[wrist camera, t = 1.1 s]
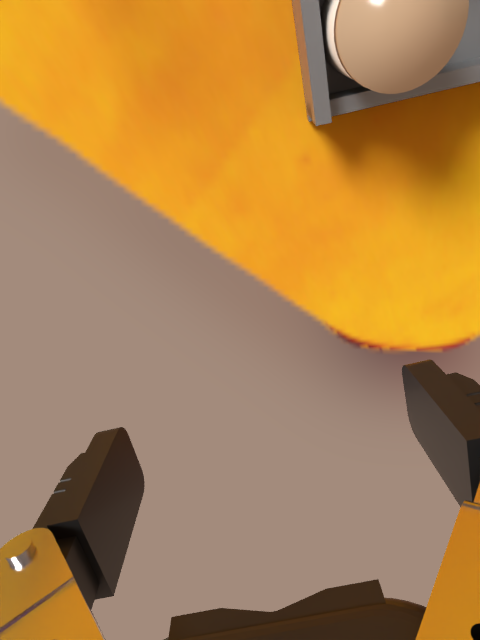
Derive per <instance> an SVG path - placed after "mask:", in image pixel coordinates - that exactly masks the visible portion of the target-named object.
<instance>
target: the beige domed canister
mask: <svg viewBox="0 0 480 640" xmlns="http://www.w3.org/2000/svg"><path fill="white" fill-rule="evenodd" d="M468 9H469V0H325V2H324V4H323V7H322V9H321V12H320V17H321V26H322V36H323V45H324V54H325V60H326V62H327V63H328V64H329V65H330V67H332V68H333V69H334V70H335V71H336V72H338V73H339V74H342V75H344V76H346V77H348V78H351V79H353V80H354V81H355V82H357V83H358V84H360V85H361V86H363V87H366V88H368V89H370V90H372V91H375V92H379V93H384V94H397V93H403V92H407V91H410V90H413V89H415V88H417V87H419V86H421V85H423V84H424V83H426V82H428V81H429V80H430V79H432V78H433V77H434V76H435V75H436V74H437V73H439V72H440V71H441V70H442V69H443V67H444V66H445V65H446V64H447V63H448V61H449V60H450V58H451V57H452V56H453V54H454V52H455V51H456V49H457V47H458V45H459V43H460V41H461V38H462V36H463V33H464V30H465V27H466V22H467V18H468Z"/></svg>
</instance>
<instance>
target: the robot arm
mask: <svg viewBox="0 0 480 640" xmlns="http://www.w3.org/2000/svg"><path fill="white" fill-rule="evenodd" d="M402 375H403V383H404V390H405V397H406V403H407V411H408V416H409V421H410V424H411V427H412V430H413V432H414V434H415V436H416V438H417V439H418V441H419V443H420V444H421V446H422V447H423V449H424V451H425V452H426V454H427V455H428V457H429V458H430V460H431V461H432V463H433V465H434V466H435V468H436V469H437V471H438V472H439V474H440V476H441V477H442V479H443V480H444V482H445V483H446V485H447V486H448V488H449V489H450V491H451V493H452V494H453V495H454V497H455V499H456V501H457V502H458V504H459V505H460V507H461V508H460V511H459V514H458V517H457V519H456V523H455V525H454V528H453V531H452V534H451V537H450V540H449V543H448V546H447V549H446V552H445V555H444V558H443V561H442V564H441V566H440V569H439V572H438V575H437V578H436V581H435V584H434V587H433V590H432V593H431V596H430V599H429V602H428V605H427V607H424V606H422V605H419V604H415V603H412V602H409V601H405V600H399V599H393V598H384V596H383V593H382V589H381V586H380V584H379V581H378V580H373V581H367V582H362V583H356V584H350V585H345V586H339V587H334V588H328V589H325V590H323V591H320V592H318V593H316V594H314V595H312V596H309V597H307V598H305V599H303V600H300V601H298V602H296V603H294V604H291V605H289V606H287V607H285V608H283V609H280V610H278V611H274V612H263V611H250V610H238V609H225V608H219V609H213V610H208V611H203V612H197V613H192V614H187V615H181V616H175V617H172V618H171V625H170V632H169V637H168V638H166V639H164V640H480V385H479V384H478V383H477V382H476V381H474V380H473V379H471V378H468V377H466V376H463V375H461V374H458V373H452V374H447V375H446V374H445V373H444V372H443V371H442V370H441V369H440V368H439V367H438V366H437V365H436V364H435V363H434V362H433V361H432V360H426V361H422V362H417V363H413V364H408V365H404V366H403V367H402ZM60 481H61V482H60V483H58V485H57V487H56V488H55V490H54V494H52V495H51V497H50V499H49V501H48V502H47V504H46V506H45V508H44V510H43V511H42V513H41V515H40V517H39V518H38V520H37V522H36V524H35V525H34V527H33V529H31V530H28V531H26V532H23V533H21V534H19V535H17V536H16V537H14V538H13V539H11V540H10V541H8V542H7V543H6V544H5V545H4V546H3V547H2V548H0V640H105V638H104V636H103V634H102V632H101V630H100V628H99V626H98V624H97V622H96V620H95V617H94V616H93V614H92V611H91V609H92V605H93V602H94V600H95V599H100V598H105V597H111V596H114V593H115V589H116V586H117V582H118V579H119V576H120V572H121V569H122V565H123V562H124V558H125V554H126V552H127V548H128V545H129V541H130V538H131V534H132V531H133V527H134V524H135V521H136V517H137V514H138V510H139V507H140V503H141V500H142V497H143V493H144V476H143V472H142V469H141V466H140V464H139V461H138V459H137V456H136V454H135V451H134V448H133V446H132V443H131V441H130V438H129V436H128V433H127V431H126V430H125V429H124V428H123V427H120V428H116V429H111V430H107V431H102V432H98V433H96V434H95V435H94V437H93V439H92V441H91V443H90V445H89V447H88V449H87V450H86V452H85V453H82V454H80V455H79V456H78V457H77V458H76V459H75V460H74V461H73V462H72V463H71V464H70V465H69V466H68V467H67V469H66V471H65V472H64V474H63V476H62V478H61V480H60Z"/></svg>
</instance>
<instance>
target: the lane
mask: <svg viewBox="0 0 480 640" xmlns="http://www.w3.org/2000/svg"><path fill="white" fill-rule="evenodd" d="M324 2H325V0H292V6H293V13H294V21H295V28H296V36H297V43H298V50H299V58H300V65H301V73H302V80H303V88H304V95H305V103H306V110H307V118H308V121H309V122H310V121H313V122H314V124H315V125H316V126H319V125H323V124H327V123H332V119H331V117H332V116H336V115H340V114H345V113H349V112H353V111H357V110H362V109H366V108H370V107H374V106H379V105H383V104H387V103H391V102H396V101H400V100H404V99H408V98H413V97H417V96H421V95H425V94H430V93H434V92H438V91H442V90H447V89H451V88H455V87H459V86H464V85H468V84H472V83H476V82H480V0H469V9H468V18H467V22H466V27H465V30H464V33H463V36H462V38H461V41H460V43H459V45H458V47H457V49H456V51H455V52H454V54H453V56H452V57H451V58H450V60H449V61H448V63H447V64H446V65H445V66H444V67H443V69H442V70H441V71H440V72H439V73H437V74H436V75H435V76H434V77H433V78H432V79H430V80H429V81H428V82H426V83H424V84H423V85H421V86H419V87H417V88H415V89H413V90H410V91H407V92H403V93H397V94H384V93H379V92H375V91H372V90H370V89H368V88H366V87H363V86H361V85H360V84H358V83H357V82H355V81H354V80H353V79H351V78H348V77H346V76H344V75H342V74H339V73H338V72H336V71H335V70H334V69H333V68H332V67H330V65H329V64H328V63H327V62H326V60H325V54H324V45H323V36H322V26H321V17H320V12H321V9H322V7H323V4H324Z"/></svg>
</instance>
